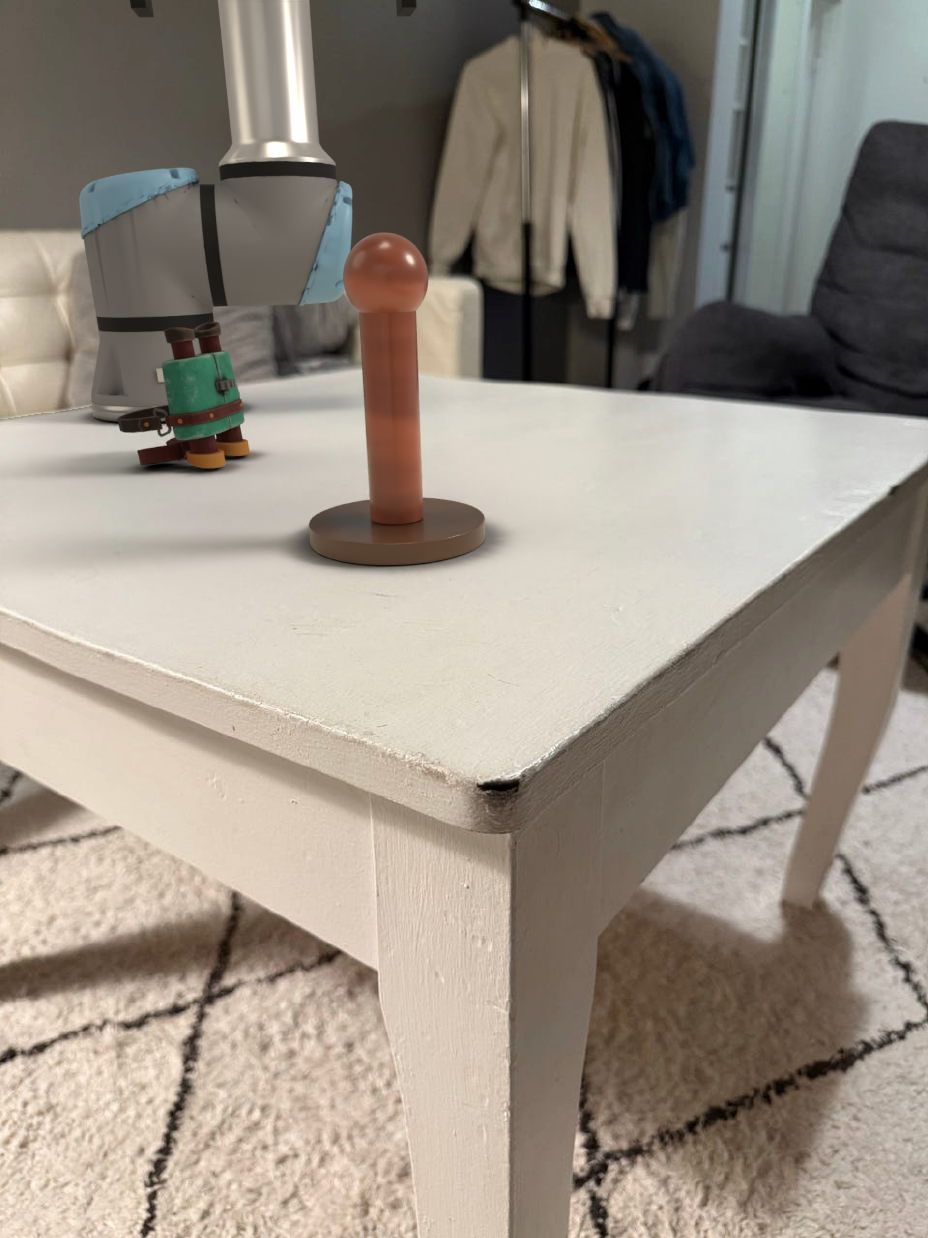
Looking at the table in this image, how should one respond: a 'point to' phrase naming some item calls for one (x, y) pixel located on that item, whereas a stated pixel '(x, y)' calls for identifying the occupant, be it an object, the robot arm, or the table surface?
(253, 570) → the table surface
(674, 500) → the table surface
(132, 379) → the robot arm
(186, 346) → the binoculars
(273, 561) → the table surface
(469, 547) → the marker post
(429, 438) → the table surface
